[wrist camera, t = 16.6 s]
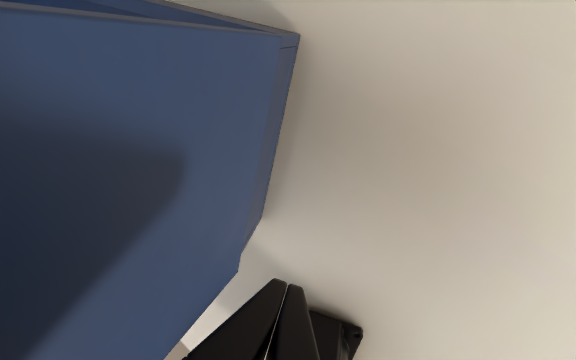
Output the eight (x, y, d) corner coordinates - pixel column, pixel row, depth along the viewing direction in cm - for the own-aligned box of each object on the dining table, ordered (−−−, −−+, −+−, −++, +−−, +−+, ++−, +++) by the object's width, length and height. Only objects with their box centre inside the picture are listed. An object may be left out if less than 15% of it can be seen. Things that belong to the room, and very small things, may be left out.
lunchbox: (25, 145, 25) (-51, 169, 20) (-6, -42, 19) (-120, -65, 15) (261, 218, 23) (235, 264, 18) (300, 34, 17) (277, 33, 13)
